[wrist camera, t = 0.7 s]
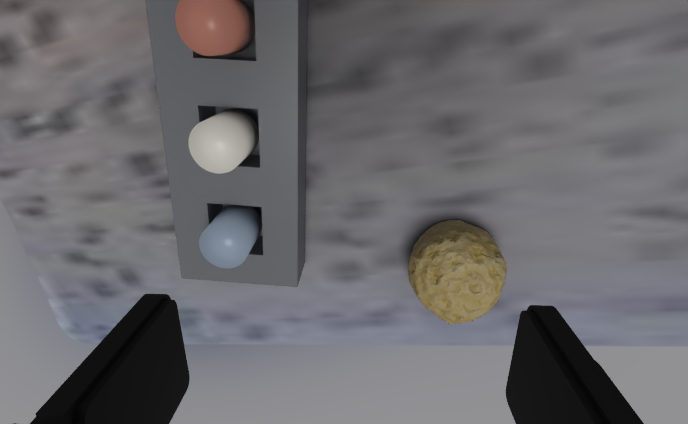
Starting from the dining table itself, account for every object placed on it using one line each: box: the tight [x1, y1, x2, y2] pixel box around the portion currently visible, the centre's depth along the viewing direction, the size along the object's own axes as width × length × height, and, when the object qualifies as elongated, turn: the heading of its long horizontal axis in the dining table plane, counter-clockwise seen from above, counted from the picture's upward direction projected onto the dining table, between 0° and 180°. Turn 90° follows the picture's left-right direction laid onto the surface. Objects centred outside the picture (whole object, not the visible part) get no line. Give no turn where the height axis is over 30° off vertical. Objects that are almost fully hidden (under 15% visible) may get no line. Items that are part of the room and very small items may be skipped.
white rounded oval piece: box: [188, 109, 259, 174], centre depth 35 cm, size 4×4×5 cm
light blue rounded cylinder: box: [199, 205, 262, 268], centre depth 38 cm, size 4×4×5 cm
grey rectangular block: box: [145, 0, 308, 287], centre depth 38 cm, size 30×12×5 cm, turn 177°
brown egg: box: [175, 0, 255, 56], centre depth 31 cm, size 4×4×5 cm
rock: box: [408, 220, 506, 324], centre depth 42 cm, size 10×11×10 cm
